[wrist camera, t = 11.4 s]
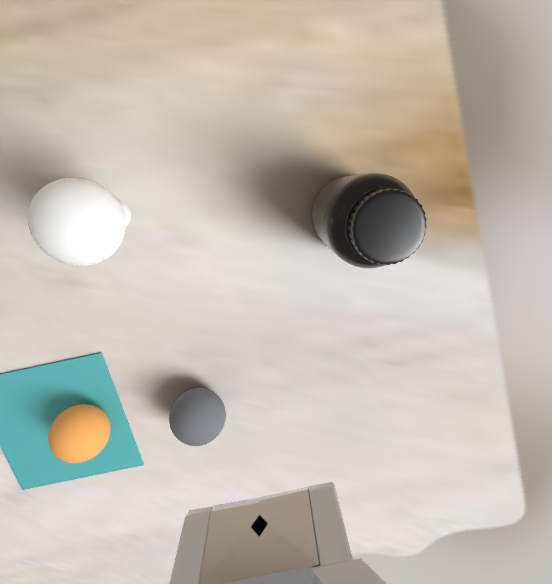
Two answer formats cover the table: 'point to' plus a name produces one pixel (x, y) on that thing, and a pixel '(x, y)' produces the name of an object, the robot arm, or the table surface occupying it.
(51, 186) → the lightbulb
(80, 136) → the table surface
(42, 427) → the teal mark
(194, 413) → the charcoal ball
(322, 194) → the supplement bottle
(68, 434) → the orange ball
